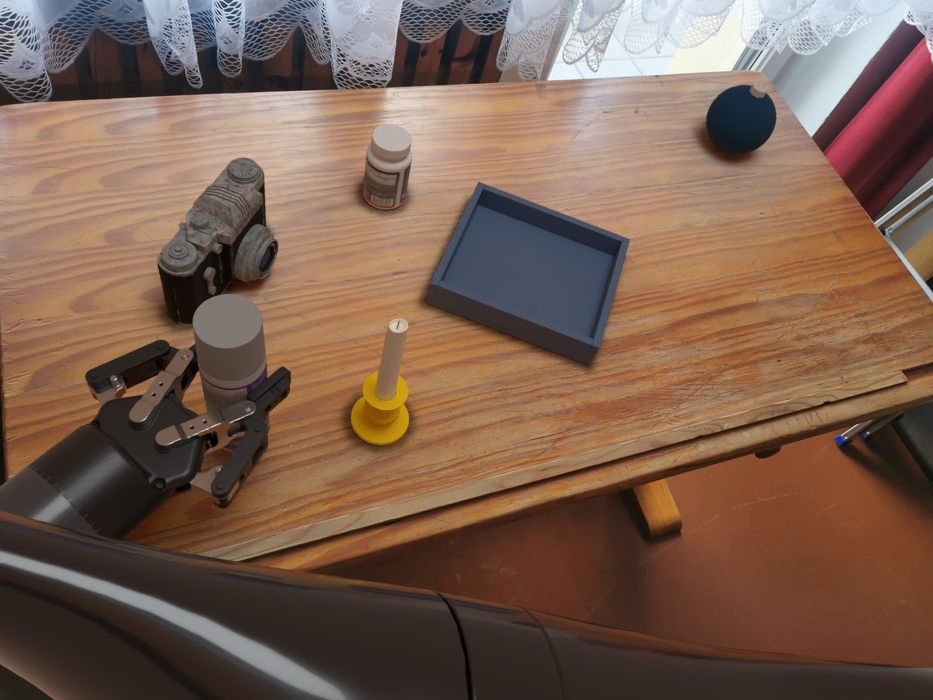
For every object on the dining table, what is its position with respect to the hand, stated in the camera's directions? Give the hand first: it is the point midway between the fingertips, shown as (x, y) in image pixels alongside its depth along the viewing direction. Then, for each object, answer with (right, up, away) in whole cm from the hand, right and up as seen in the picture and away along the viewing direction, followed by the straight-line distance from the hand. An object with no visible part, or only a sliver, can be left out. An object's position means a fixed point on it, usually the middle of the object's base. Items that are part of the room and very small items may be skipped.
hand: (260, 354), depth 58 cm
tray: (+22, +8, +24) cm, 33 cm away
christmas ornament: (+49, +27, +43) cm, 71 cm away
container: (-3, -6, +5) cm, 9 cm away
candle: (+8, -6, +12) cm, 15 cm away
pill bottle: (+6, +17, +27) cm, 33 cm away
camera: (-7, +8, +17) cm, 20 cm away
